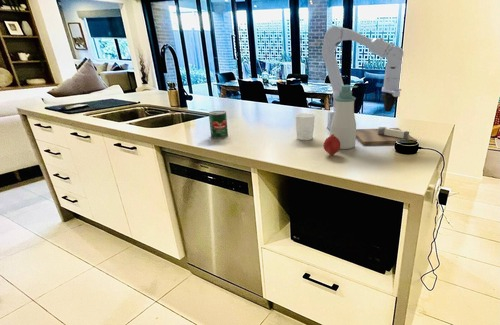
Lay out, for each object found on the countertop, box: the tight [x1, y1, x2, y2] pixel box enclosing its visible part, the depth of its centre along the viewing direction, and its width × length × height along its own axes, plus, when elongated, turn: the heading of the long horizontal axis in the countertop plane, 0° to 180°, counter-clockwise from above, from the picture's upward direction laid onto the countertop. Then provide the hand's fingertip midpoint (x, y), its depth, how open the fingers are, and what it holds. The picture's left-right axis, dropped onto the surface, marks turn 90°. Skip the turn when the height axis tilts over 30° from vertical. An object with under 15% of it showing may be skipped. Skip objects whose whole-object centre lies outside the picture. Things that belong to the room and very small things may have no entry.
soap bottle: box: [328, 84, 358, 150], centre depth 112 cm, size 10×10×23 cm
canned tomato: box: [208, 110, 229, 139], centre depth 135 cm, size 8×8×11 cm
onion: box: [323, 134, 341, 156], centre depth 106 cm, size 6×6×8 cm
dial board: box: [356, 127, 418, 146], centre depth 123 cm, size 20×18×2 cm
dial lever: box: [377, 126, 410, 139], centre depth 119 cm, size 12×3×3 cm, turn 41°
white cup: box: [295, 112, 316, 141], centre depth 126 cm, size 8×8×10 cm
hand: (387, 111), depth 127 cm, fingers closed
